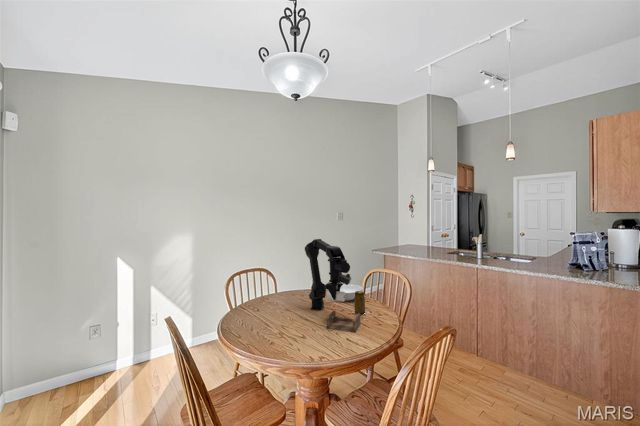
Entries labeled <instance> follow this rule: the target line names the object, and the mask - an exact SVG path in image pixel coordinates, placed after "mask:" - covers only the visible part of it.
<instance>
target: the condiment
mask: <svg viewBox="0 0 640 426" xmlns="http://www.w3.org/2000/svg"><path fill="white" fill-rule="evenodd" d="M353 300H354V302H353V303H354V311H351V313H352V314H355V315H357V314H358V313H360V317H363V316H367V315H369V314H370V312H369V311H366V297H365V292H364V291H356V292H355V297H354V299H353ZM365 311H366V312H367V313H366V314H364V313H365ZM363 314H364V315H363Z"/></svg>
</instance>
